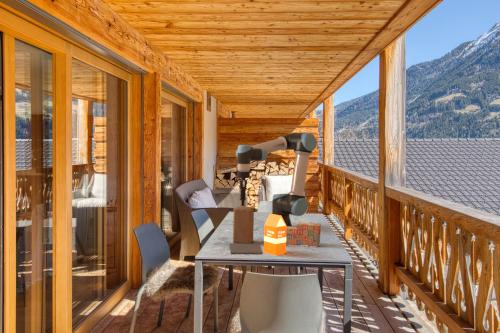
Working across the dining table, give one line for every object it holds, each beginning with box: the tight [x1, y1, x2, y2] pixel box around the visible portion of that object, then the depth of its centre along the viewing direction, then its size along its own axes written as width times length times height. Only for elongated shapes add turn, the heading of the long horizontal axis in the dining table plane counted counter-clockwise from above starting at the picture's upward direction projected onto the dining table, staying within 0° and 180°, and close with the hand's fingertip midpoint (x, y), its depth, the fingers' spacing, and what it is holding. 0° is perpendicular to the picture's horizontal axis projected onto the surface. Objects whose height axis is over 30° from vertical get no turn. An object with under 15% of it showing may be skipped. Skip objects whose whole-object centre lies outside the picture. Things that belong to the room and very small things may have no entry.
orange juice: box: [263, 213, 287, 256], centre depth 227 cm, size 8×9×20 cm
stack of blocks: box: [286, 221, 321, 247], centre depth 248 cm, size 21×6×12 cm, turn 73°
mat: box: [229, 243, 263, 255], centre depth 234 cm, size 16×20×1 cm
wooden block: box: [232, 205, 255, 244], centre depth 249 cm, size 10×10×20 cm
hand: (242, 210), depth 259 cm, fingers closed
